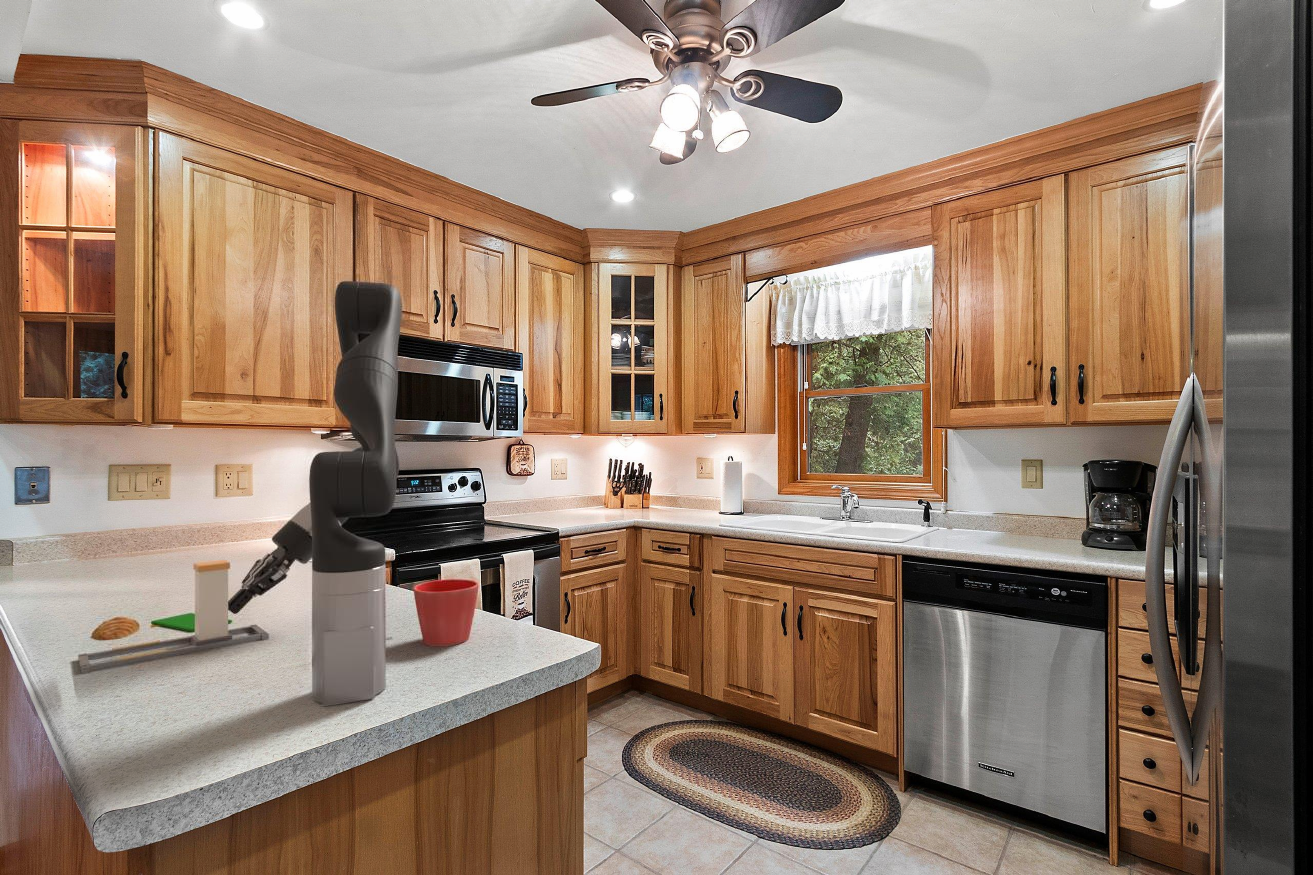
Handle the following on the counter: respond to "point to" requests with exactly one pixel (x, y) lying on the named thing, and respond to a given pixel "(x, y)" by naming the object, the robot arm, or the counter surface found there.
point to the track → (137, 658)
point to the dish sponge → (178, 622)
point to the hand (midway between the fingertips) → (229, 610)
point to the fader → (211, 602)
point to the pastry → (116, 629)
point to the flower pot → (446, 610)
